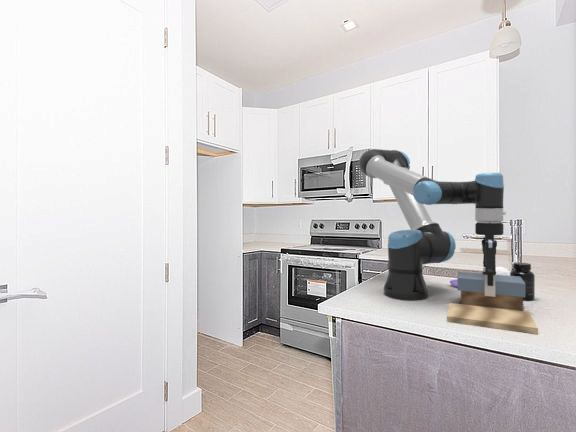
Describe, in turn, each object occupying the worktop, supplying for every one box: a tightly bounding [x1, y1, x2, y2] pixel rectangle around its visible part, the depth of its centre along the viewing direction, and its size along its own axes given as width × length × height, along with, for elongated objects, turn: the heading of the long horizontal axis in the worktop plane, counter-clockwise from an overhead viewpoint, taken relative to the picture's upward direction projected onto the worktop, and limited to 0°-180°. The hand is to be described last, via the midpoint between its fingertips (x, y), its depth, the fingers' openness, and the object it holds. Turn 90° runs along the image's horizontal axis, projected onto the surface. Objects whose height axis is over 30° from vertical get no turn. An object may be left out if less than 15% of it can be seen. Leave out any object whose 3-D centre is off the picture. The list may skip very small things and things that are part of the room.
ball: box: [495, 266, 511, 276], centre depth 127 cm, size 8×8×8 cm
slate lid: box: [456, 271, 525, 297], centre depth 101 cm, size 17×10×4 cm, turn 60°
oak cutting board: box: [446, 302, 539, 335], centre depth 89 cm, size 20×14×2 cm
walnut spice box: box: [460, 291, 524, 311], centre depth 101 cm, size 16×9×7 cm, turn 60°
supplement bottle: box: [509, 262, 536, 302], centre depth 109 cm, size 7×7×12 cm
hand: (488, 291), depth 101 cm, fingers closed on slate lid, 10 cm apart
